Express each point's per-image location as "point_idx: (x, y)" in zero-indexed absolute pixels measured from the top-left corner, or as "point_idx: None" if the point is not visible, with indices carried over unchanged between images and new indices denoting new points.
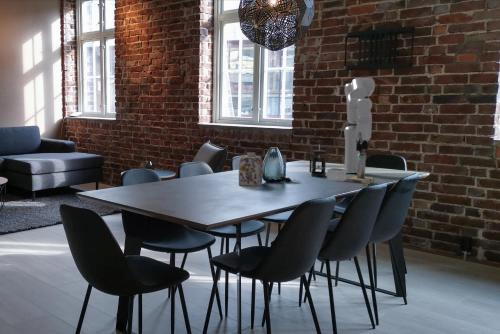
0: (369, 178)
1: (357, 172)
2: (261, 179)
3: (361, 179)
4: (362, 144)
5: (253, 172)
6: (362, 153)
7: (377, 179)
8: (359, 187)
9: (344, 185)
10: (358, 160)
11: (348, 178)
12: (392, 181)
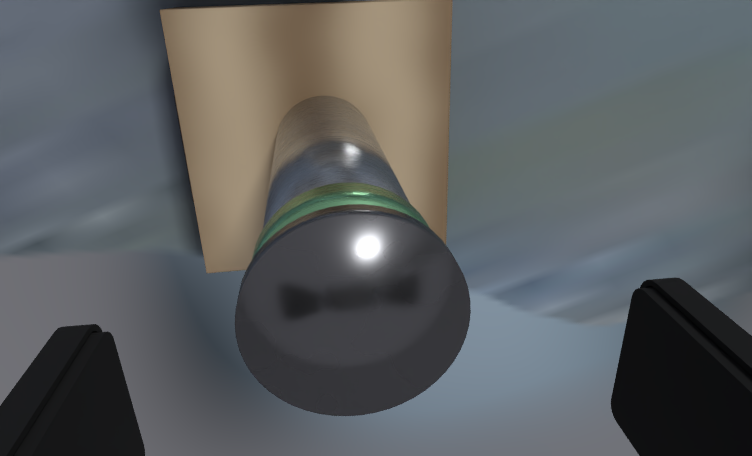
0: None
1: (291, 125)
2: None
3: (216, 197)
4: (743, 394)
5: None
6: (285, 365)
7: (705, 158)
8: (26, 239)
9: (5, 44)
10: (271, 204)
11: (167, 25)
12: None
